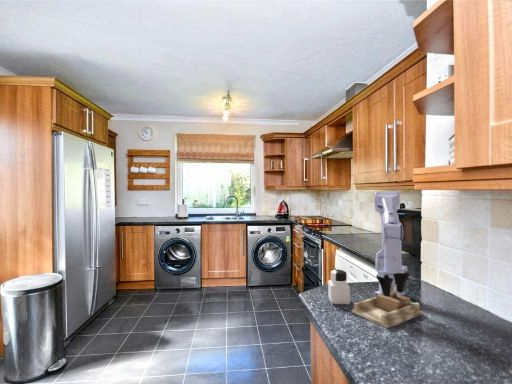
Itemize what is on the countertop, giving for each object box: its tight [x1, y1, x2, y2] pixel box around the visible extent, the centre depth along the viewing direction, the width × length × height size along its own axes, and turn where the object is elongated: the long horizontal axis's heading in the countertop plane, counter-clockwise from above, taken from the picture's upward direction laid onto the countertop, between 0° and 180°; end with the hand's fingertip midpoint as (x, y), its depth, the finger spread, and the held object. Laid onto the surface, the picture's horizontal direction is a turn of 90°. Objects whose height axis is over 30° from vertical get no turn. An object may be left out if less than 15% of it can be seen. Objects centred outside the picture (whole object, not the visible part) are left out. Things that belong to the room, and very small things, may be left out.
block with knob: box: [375, 283, 412, 312], centre depth 101 cm, size 8×8×9 cm
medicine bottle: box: [327, 269, 351, 305], centre depth 111 cm, size 7×7×12 cm
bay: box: [351, 296, 424, 329], centre depth 99 cm, size 20×14×4 cm
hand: (393, 293), depth 101 cm, fingers open, 7 cm apart
